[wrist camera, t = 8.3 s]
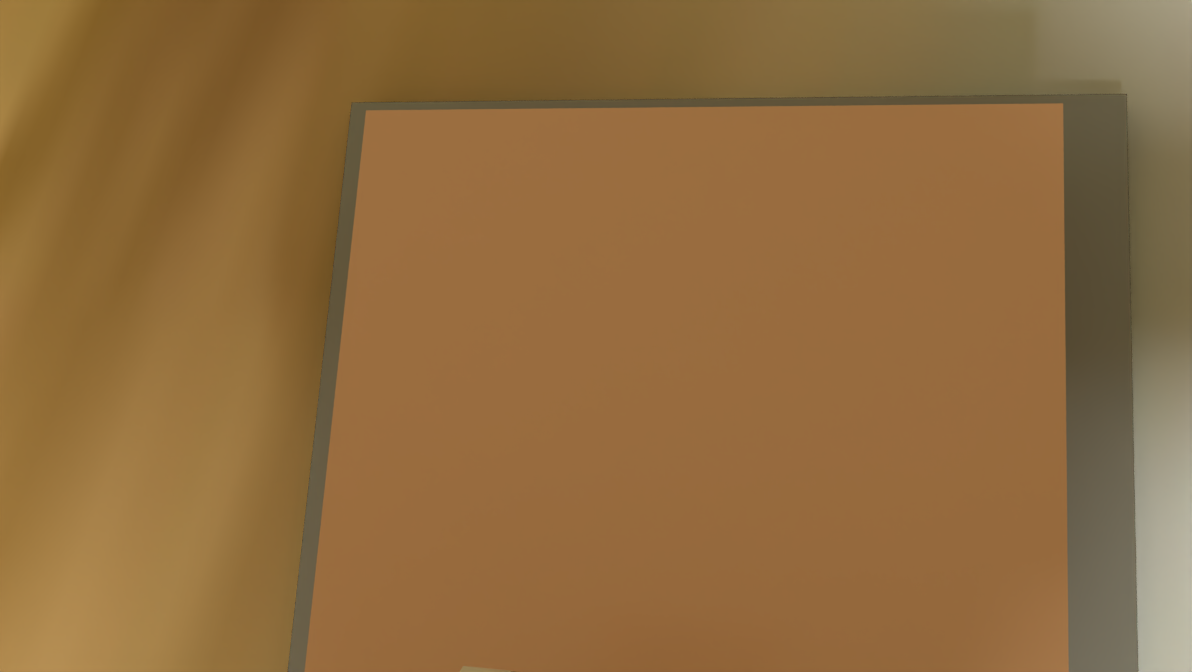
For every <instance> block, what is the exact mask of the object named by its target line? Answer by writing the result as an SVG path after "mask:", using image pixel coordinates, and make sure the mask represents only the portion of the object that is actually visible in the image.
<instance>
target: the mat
mask: <svg viewBox="0 0 1192 672" xmlns="http://www.w3.org/2000/svg"><path fill="white" fill-rule="evenodd" d="M1051 103H1063V141H1064V244H1065V347H1066V450H1067V553H1068V656H1069V672H1138V640H1137V590H1136V540H1135V490H1134V441H1133V391H1132V341H1131V291H1130V241H1129V191H1128V141H1127V94H1087V95H996V96H906V97H815V98H725V99H634V100H544V101H453V102H363V103H352V105H351V114H350V123H349V132H348V141H347V150H346V159H345V168H344V176H343V185H342V194H341V203H340V212H339V221H338V230H337V239H336V247H335V256H334V265H333V274H332V283H331V292H330V301H329V310H328V318H327V327H326V336H325V345H324V354H323V363H322V372H321V381H320V389H319V398H318V407H317V416H316V425H315V434H314V443H313V452H312V460H311V469H310V478H309V487H308V496H307V505H306V514H305V522H304V531H303V540H302V549H301V558H300V567H299V576H298V585H297V593H296V602H295V611H294V620H293V629H292V638H291V647H290V656H289V664H288V672H305V663H306V654H307V644H308V635H309V626H310V617H311V608H312V599H313V590H314V581H315V571H316V562H317V553H318V544H319V535H320V526H321V517H322V508H323V498H324V489H325V480H326V471H327V462H328V453H329V444H330V435H331V426H332V416H333V407H334V398H335V389H336V380H337V371H338V362H339V353H340V343H341V334H342V325H343V316H344V307H345V298H346V289H347V280H348V270H349V261H350V252H351V243H352V234H353V225H354V216H355V207H356V197H357V188H358V179H359V170H360V161H361V152H362V143H363V134H364V125H365V115H366V110H452V109H552V108H651V107H751V106H851V105H951V104H1051Z"/></svg>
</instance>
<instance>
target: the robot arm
mask: <svg viewBox="0 0 1192 672" xmlns="http://www.w3.org/2000/svg"><path fill="white" fill-rule="evenodd" d="M459 672H516V671H511V670H500V669H490V668H480V667H470V666H463V667H462V669H461V670H460V671H459Z"/></svg>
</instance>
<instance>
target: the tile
mask: <svg viewBox="0 0 1192 672" xmlns="http://www.w3.org/2000/svg"><path fill="white" fill-rule="evenodd" d="M463 666H470V667H480V668H490V669H500V670H511V671H516V672H1069V656H1068V553H1067V450H1066V347H1065V244H1064V141H1063V103H1051V104H951V105H851V106H751V107H651V108H552V109H452V110H366V115H365V125H364V134H363V143H362V152H361V161H360V170H359V179H358V188H357V197H356V207H355V216H354V225H353V234H352V243H351V252H350V261H349V270H348V280H347V289H346V298H345V307H344V316H343V325H342V334H341V343H340V353H339V362H338V371H337V380H336V389H335V398H334V407H333V416H332V426H331V435H330V444H329V453H328V462H327V471H326V480H325V489H324V498H323V508H322V517H321V526H320V535H319V544H318V553H317V562H316V571H315V581H314V590H313V599H312V608H311V617H310V626H309V635H308V644H307V654H306V663H305V672H459V671H460V670H461V669H462V667H463Z"/></svg>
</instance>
